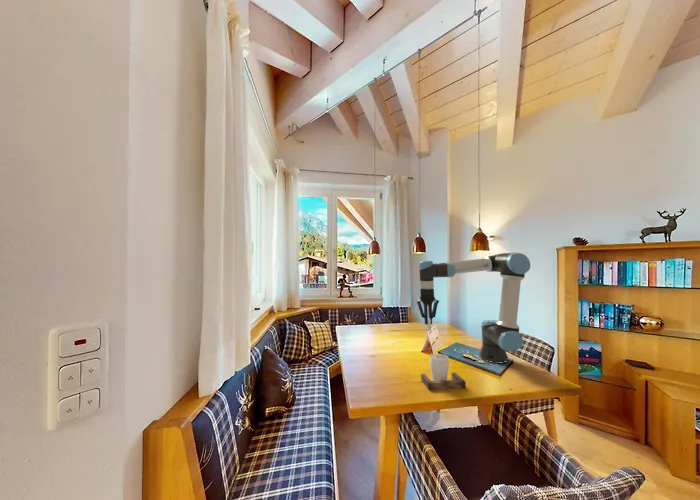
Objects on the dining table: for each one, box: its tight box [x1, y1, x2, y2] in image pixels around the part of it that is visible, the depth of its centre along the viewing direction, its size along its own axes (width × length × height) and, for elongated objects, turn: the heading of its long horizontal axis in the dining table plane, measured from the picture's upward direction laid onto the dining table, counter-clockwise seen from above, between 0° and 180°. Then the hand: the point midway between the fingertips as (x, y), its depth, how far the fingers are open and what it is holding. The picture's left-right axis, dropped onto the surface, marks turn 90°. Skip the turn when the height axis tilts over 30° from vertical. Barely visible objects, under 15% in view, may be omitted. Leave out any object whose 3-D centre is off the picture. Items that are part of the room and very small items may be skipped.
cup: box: [429, 353, 450, 381], centre depth 129 cm, size 9×9×12 cm
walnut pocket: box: [420, 371, 466, 391], centre depth 126 cm, size 18×10×3 cm, turn 94°
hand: (428, 330), depth 145 cm, fingers closed
